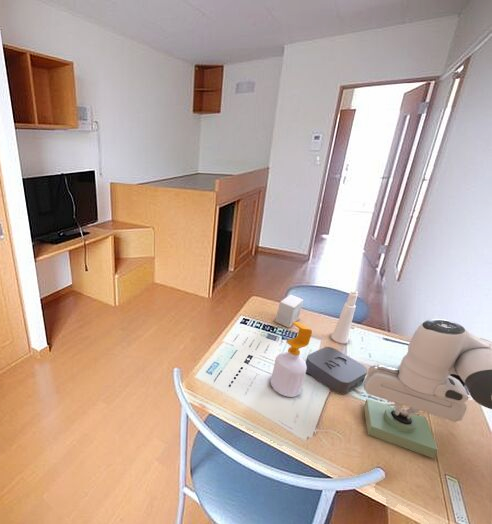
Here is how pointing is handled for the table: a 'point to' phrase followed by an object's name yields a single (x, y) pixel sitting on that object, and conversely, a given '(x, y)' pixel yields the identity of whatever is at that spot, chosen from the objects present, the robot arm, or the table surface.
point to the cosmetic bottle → (345, 319)
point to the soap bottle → (291, 365)
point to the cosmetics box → (289, 310)
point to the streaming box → (335, 370)
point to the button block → (399, 429)
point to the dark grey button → (401, 419)
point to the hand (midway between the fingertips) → (401, 415)
